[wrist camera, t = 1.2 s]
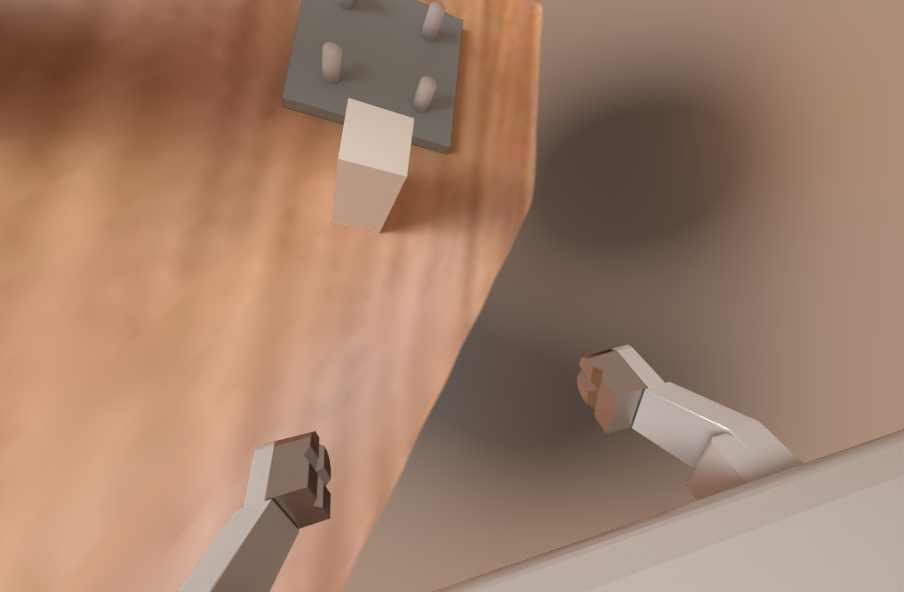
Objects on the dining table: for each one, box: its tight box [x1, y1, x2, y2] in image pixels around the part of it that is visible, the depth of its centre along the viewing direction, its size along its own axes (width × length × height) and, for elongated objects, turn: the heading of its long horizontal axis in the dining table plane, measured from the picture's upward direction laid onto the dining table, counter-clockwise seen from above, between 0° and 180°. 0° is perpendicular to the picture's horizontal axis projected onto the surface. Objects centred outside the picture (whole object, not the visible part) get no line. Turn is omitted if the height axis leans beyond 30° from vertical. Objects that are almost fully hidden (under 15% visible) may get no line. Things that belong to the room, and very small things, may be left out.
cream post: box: [331, 98, 414, 233], centre depth 34 cm, size 5×5×13 cm
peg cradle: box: [282, 0, 463, 154], centre depth 41 cm, size 18×18×5 cm
